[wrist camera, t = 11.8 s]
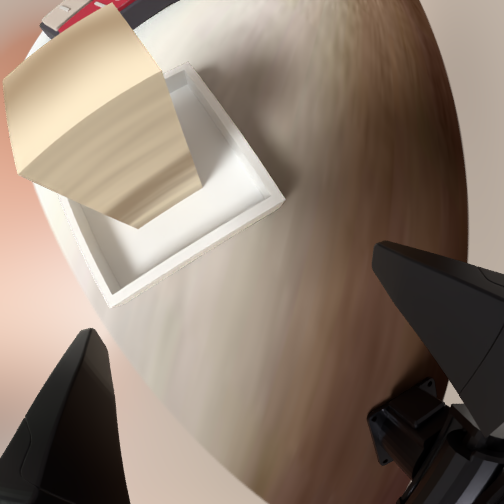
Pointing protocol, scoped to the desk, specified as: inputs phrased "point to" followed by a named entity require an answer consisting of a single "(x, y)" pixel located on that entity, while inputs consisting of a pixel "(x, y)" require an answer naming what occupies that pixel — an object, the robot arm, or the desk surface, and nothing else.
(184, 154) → the birch block
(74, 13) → the calculator
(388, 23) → the desk surface
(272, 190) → the white tray
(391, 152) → the desk surface
